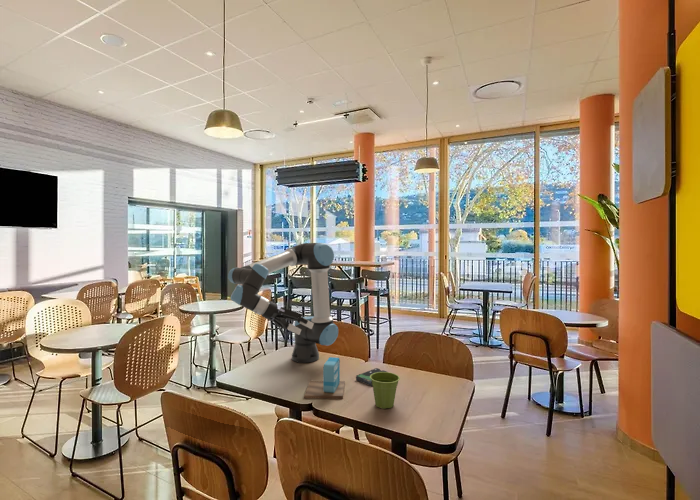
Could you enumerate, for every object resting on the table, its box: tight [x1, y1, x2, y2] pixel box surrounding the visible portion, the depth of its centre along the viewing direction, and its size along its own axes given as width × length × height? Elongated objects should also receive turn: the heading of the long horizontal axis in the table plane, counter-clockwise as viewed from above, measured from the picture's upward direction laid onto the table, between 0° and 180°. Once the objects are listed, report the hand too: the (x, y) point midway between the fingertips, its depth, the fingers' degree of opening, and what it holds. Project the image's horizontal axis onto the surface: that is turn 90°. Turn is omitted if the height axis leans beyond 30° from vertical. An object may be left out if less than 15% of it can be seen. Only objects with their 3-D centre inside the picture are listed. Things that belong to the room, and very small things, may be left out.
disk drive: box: [355, 367, 388, 387], centre depth 169 cm, size 10×3×15 cm
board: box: [304, 380, 346, 400], centre depth 156 cm, size 16×16×1 cm
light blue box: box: [322, 357, 341, 393], centre depth 155 cm, size 12×4×12 cm, turn 169°
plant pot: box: [370, 371, 401, 410], centre depth 141 cm, size 12×12×11 cm
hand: (306, 329), depth 163 cm, fingers open, 13 cm apart
